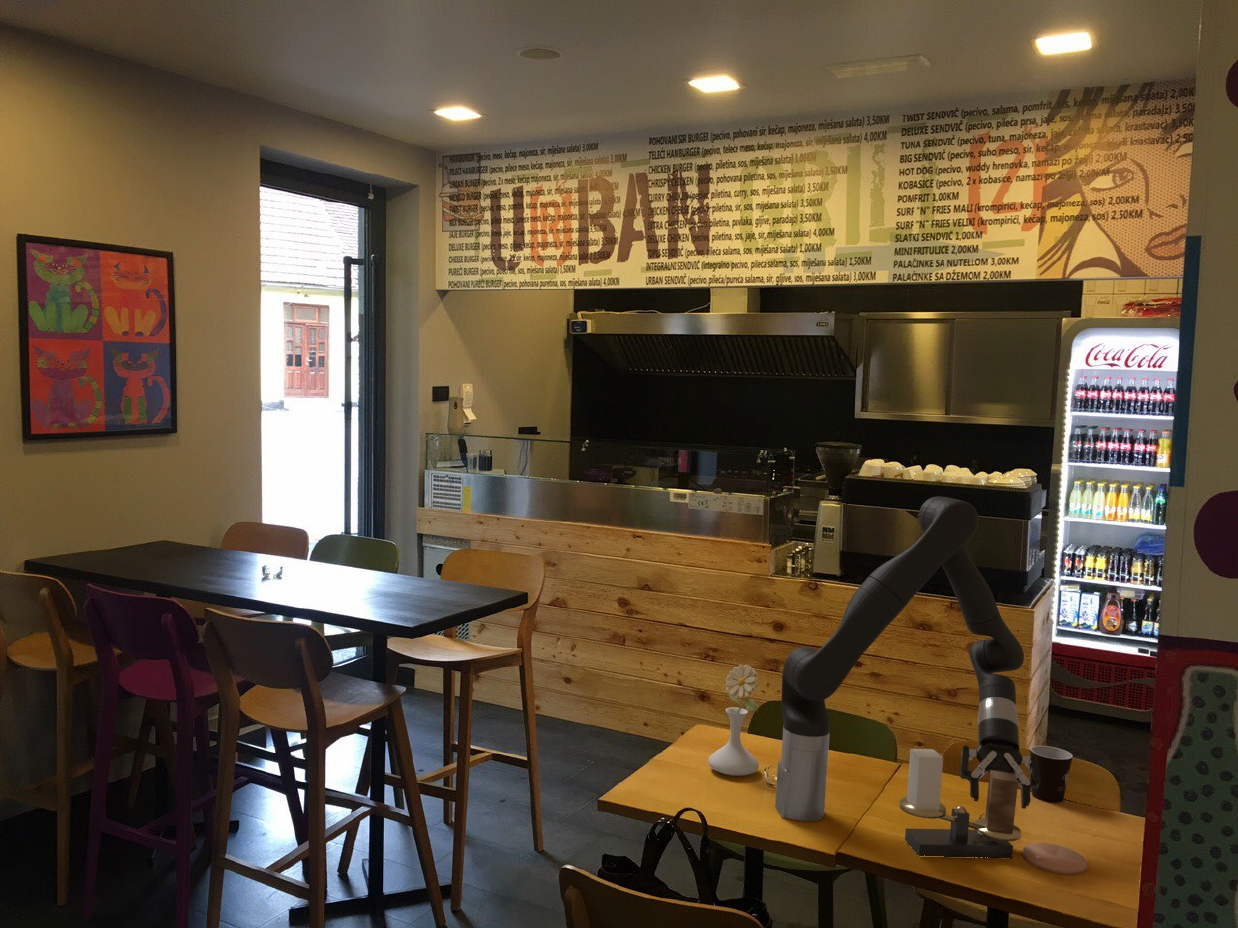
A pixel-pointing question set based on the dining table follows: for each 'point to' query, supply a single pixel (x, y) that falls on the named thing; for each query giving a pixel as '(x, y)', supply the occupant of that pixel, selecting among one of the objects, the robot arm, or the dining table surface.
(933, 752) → the pale block
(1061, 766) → the coffee mug
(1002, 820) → the walnut block
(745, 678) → the flower in vase
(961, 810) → the balance
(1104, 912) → the dining table surface
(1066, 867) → the saucer
